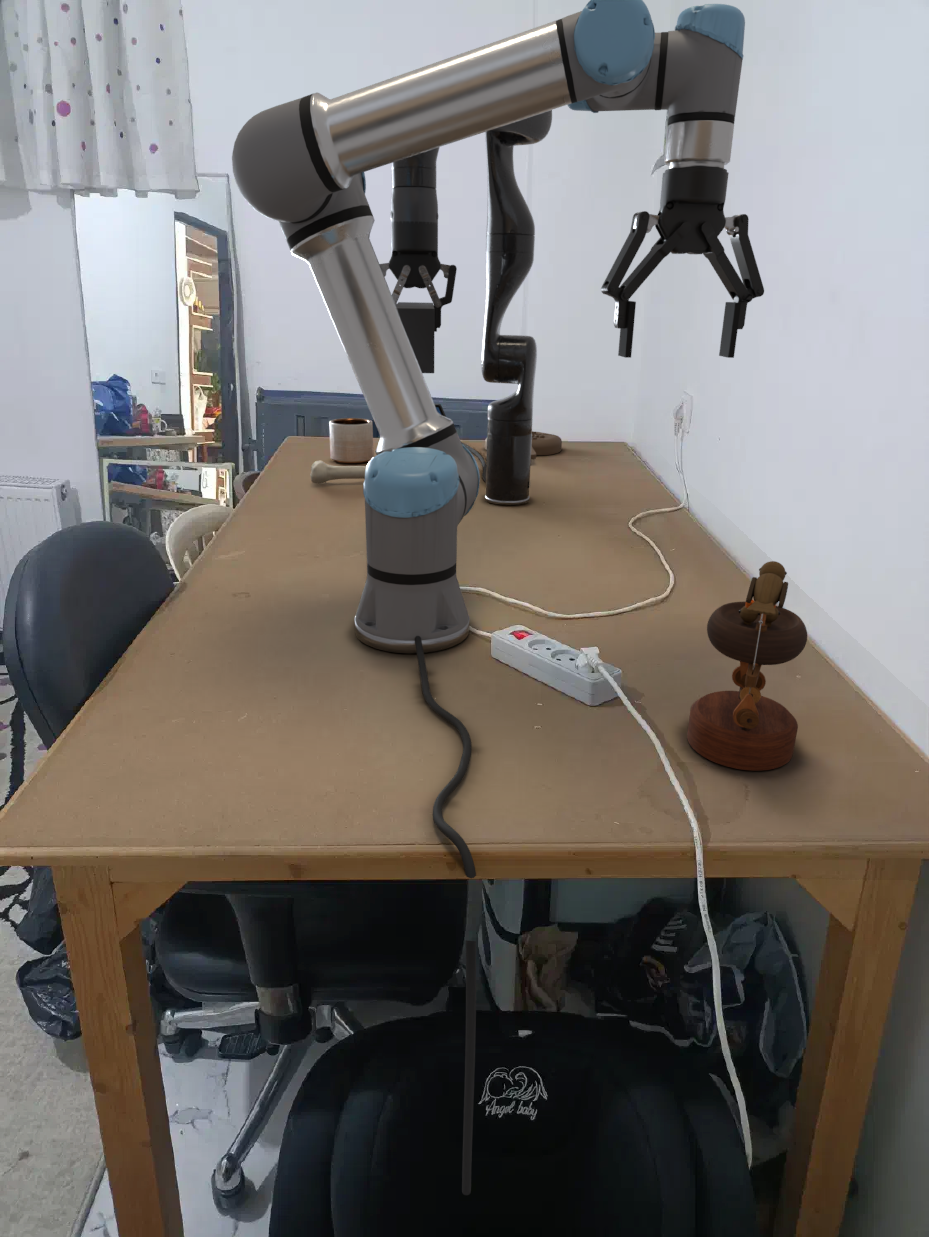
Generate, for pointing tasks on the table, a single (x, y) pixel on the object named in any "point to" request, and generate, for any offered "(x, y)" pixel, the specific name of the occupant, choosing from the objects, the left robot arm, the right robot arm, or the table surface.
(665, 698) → the table surface
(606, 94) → the left robot arm
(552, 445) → the ice cream bar
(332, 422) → the planter
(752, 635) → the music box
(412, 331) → the box
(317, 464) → the dog toy
